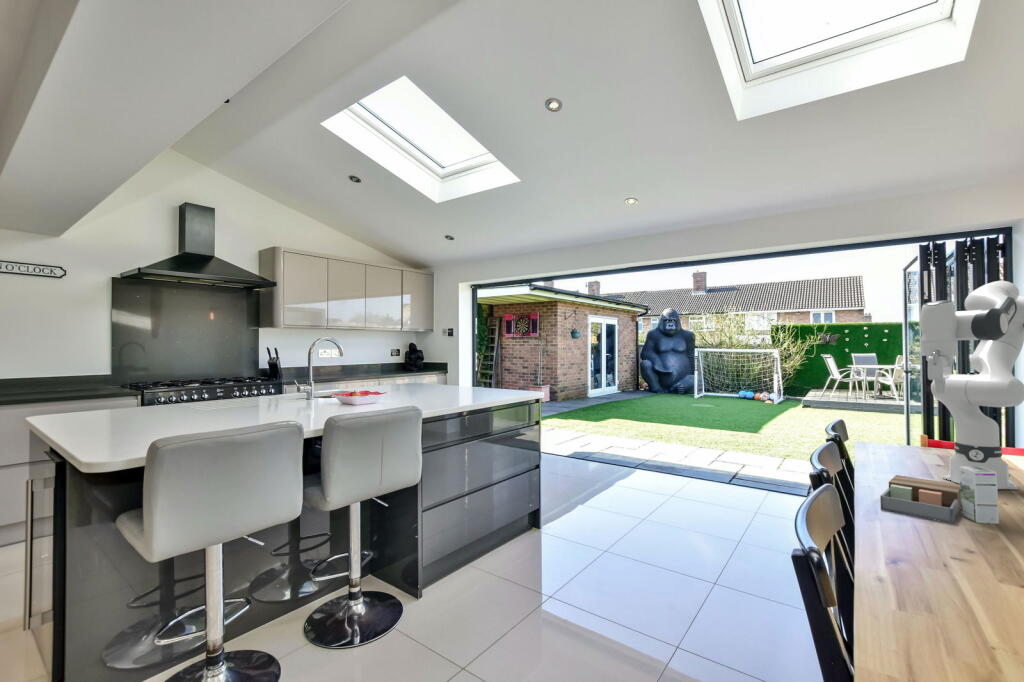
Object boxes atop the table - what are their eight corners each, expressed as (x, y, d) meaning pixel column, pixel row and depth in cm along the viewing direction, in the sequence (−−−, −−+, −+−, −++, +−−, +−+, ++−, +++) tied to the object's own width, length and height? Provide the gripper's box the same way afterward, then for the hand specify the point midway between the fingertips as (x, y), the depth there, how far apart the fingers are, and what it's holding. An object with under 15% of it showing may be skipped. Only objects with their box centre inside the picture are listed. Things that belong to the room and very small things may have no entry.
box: (889, 500, 149) (888, 488, 150) (958, 513, 137) (957, 499, 138) (880, 509, 141) (880, 496, 142) (953, 523, 129) (952, 508, 130)
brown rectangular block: (896, 492, 157) (896, 475, 157) (962, 504, 145) (961, 484, 146) (889, 500, 149) (888, 481, 150) (958, 513, 137) (957, 492, 138)
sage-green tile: (891, 484, 148) (890, 485, 147) (912, 487, 145) (910, 489, 143) (892, 500, 148) (890, 501, 147) (912, 503, 145) (911, 505, 143)
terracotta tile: (919, 489, 143) (918, 490, 141) (941, 492, 139) (941, 494, 138) (920, 505, 143) (919, 507, 141) (942, 509, 139) (941, 511, 138)
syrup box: (1000, 524, 129) (998, 471, 129) (975, 523, 130) (973, 470, 130) (984, 517, 134) (982, 466, 134) (960, 515, 135) (958, 465, 136)
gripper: (948, 350, 142) (949, 396, 142) (956, 350, 156) (957, 391, 155) (920, 350, 147) (922, 394, 146) (930, 350, 160) (931, 390, 160)
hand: (940, 393), depth 151 cm, fingers closed
